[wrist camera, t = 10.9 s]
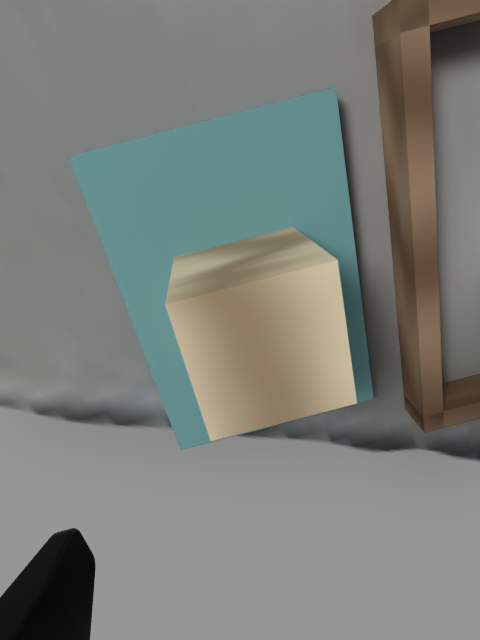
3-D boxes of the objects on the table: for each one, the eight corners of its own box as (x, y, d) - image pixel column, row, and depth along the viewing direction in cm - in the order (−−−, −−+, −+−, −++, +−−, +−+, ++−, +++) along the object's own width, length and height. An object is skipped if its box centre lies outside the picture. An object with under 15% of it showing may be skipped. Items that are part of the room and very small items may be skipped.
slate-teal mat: (75, 156, 15) (68, 156, 14) (327, 90, 15) (335, 86, 14) (181, 437, 21) (181, 450, 20) (365, 388, 21) (373, 399, 20)
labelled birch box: (293, 226, 16) (337, 260, 11) (312, 338, 18) (357, 409, 13) (174, 257, 16) (165, 304, 11) (207, 366, 18) (212, 447, 13)
